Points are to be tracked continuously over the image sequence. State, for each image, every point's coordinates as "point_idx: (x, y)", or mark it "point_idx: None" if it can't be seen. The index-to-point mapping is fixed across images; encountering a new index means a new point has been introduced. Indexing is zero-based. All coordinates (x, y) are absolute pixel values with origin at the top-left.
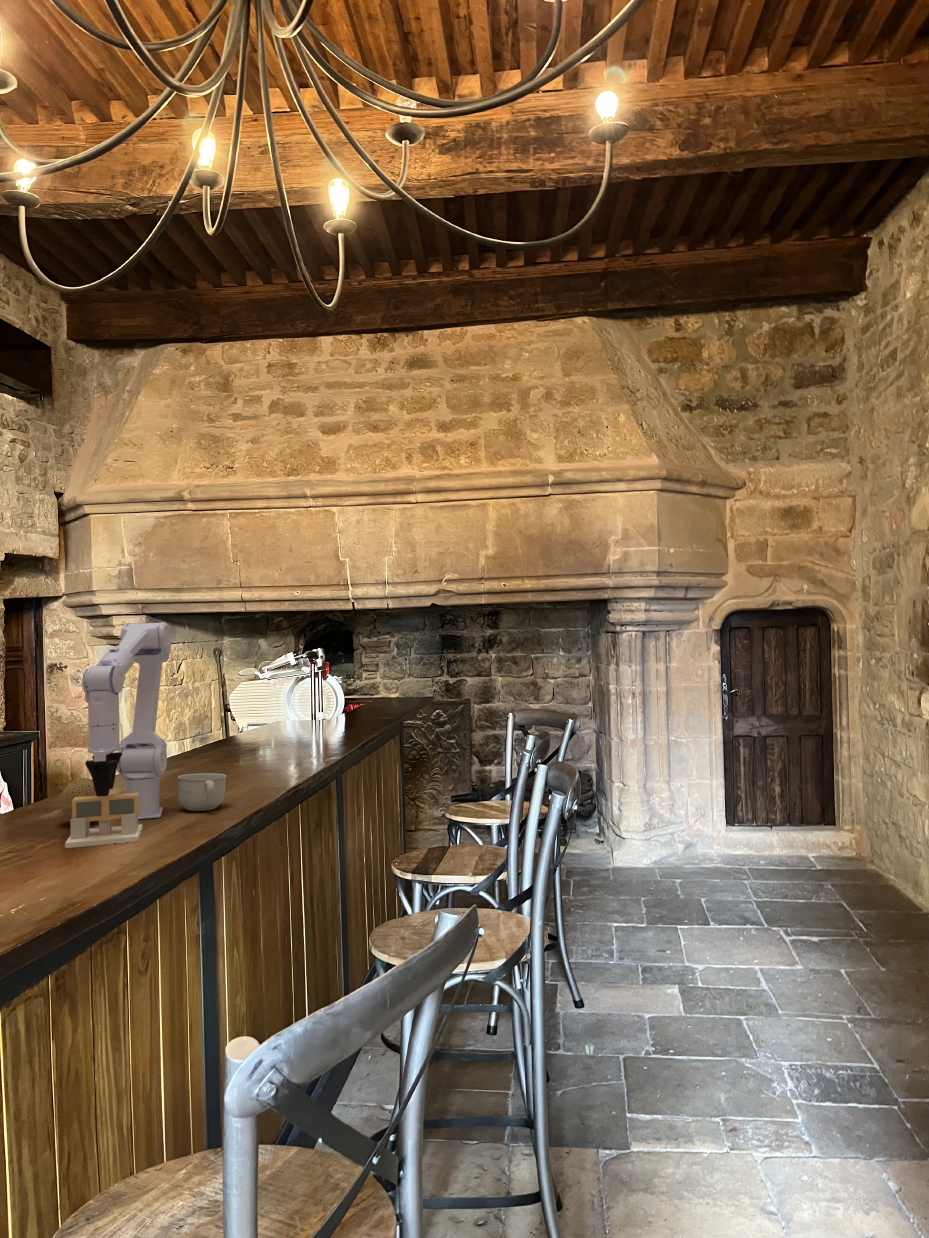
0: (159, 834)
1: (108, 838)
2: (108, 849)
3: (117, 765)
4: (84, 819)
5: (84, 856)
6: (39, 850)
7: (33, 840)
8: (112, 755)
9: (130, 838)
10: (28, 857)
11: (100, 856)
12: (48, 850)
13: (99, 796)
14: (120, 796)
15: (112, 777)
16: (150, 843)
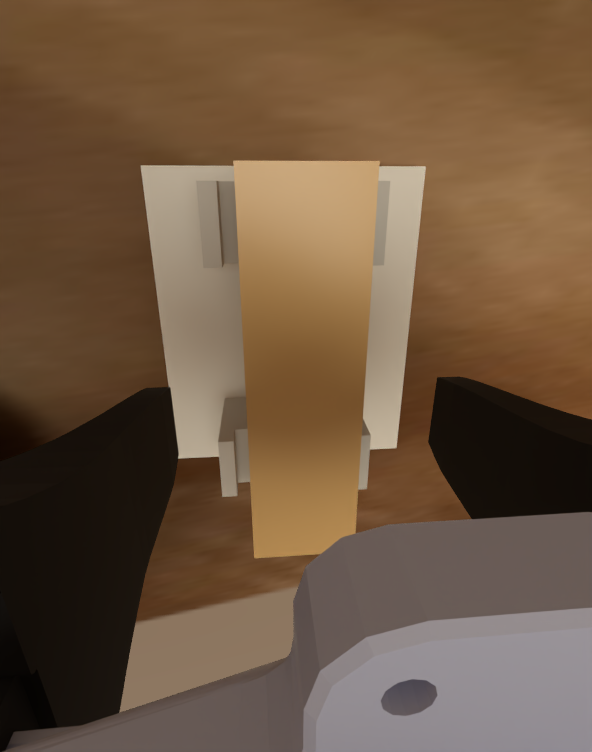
0: (307, 57)
1: (400, 300)
2: (492, 282)
3: (23, 461)
4: (369, 434)
5: (549, 354)
6: (379, 505)
7: (220, 552)
8: (39, 637)
9: (420, 202)
10: (457, 513)
11: (586, 297)
12: (393, 480)
13: (292, 434)
14: (360, 296)
15: (145, 431)
16: (484, 98)
